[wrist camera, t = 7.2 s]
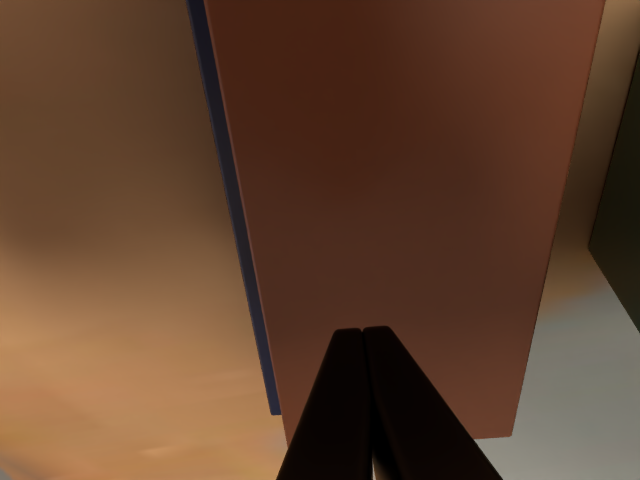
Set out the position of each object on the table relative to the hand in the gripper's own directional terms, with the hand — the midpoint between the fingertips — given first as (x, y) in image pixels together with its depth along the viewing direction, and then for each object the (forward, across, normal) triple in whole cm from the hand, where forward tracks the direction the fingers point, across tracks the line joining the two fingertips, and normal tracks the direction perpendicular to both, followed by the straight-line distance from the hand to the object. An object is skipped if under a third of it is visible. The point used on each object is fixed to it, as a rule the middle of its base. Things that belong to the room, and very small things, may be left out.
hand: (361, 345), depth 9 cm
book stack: (+6, -1, 0) cm, 6 cm away
